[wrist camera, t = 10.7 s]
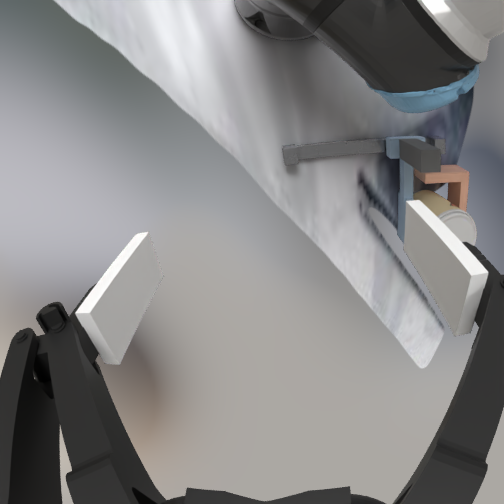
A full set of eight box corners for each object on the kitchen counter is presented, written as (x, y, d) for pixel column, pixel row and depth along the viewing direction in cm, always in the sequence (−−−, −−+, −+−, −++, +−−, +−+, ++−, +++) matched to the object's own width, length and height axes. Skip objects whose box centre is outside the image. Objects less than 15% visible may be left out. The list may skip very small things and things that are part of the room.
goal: (414, 166, 46) (425, 173, 42) (456, 164, 44) (469, 172, 41) (410, 251, 53) (419, 264, 49) (449, 247, 52) (459, 258, 48)
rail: (282, 145, 46) (282, 149, 44) (436, 135, 43) (445, 139, 40) (284, 160, 48) (284, 165, 45) (437, 149, 44) (445, 153, 41)
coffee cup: (450, 219, 50) (482, 251, 39) (409, 242, 53) (435, 279, 42) (436, 175, 46) (471, 201, 36) (392, 199, 49) (419, 231, 39)
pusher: (382, 135, 44) (410, 150, 34) (416, 134, 43) (450, 149, 33) (384, 235, 52) (406, 270, 42) (415, 232, 51) (440, 265, 41)
